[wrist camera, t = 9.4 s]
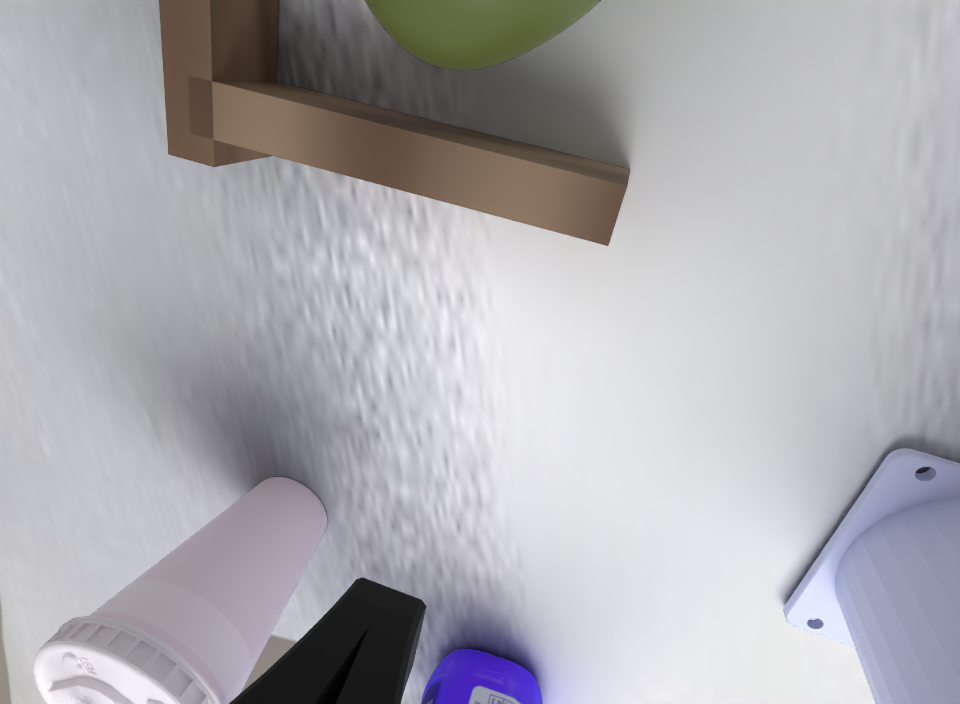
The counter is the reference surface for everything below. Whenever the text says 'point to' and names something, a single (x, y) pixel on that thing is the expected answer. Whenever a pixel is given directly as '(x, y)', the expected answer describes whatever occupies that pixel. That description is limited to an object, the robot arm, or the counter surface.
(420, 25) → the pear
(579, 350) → the counter surface
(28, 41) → the counter surface
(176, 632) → the smoothie
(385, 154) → the walnut frame
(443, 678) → the bottle
